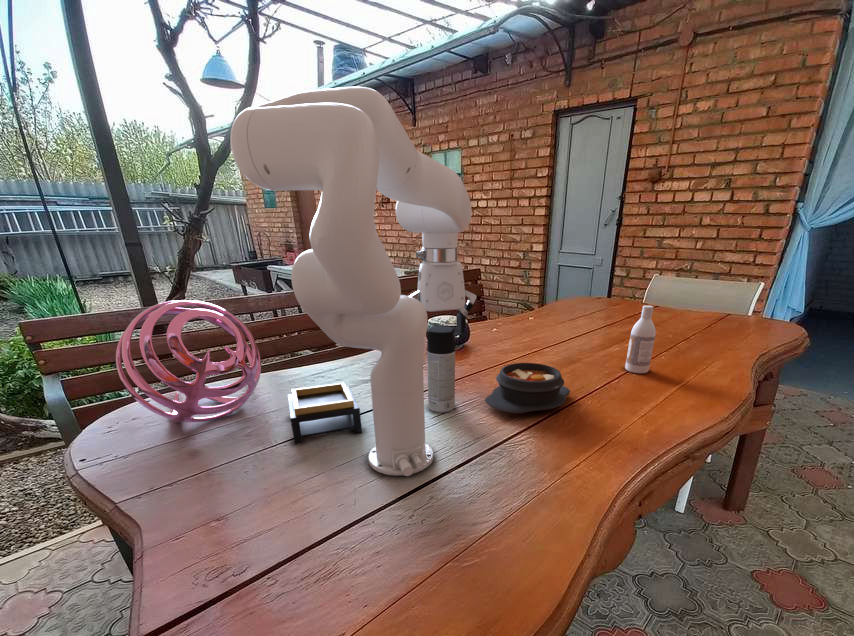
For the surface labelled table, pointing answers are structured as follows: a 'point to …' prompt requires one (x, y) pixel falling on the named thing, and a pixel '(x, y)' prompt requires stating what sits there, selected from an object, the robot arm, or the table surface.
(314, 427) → the stand
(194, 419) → the pink lattice ball
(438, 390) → the spray can
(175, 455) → the table surface
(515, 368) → the casserole
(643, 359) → the bath foam
